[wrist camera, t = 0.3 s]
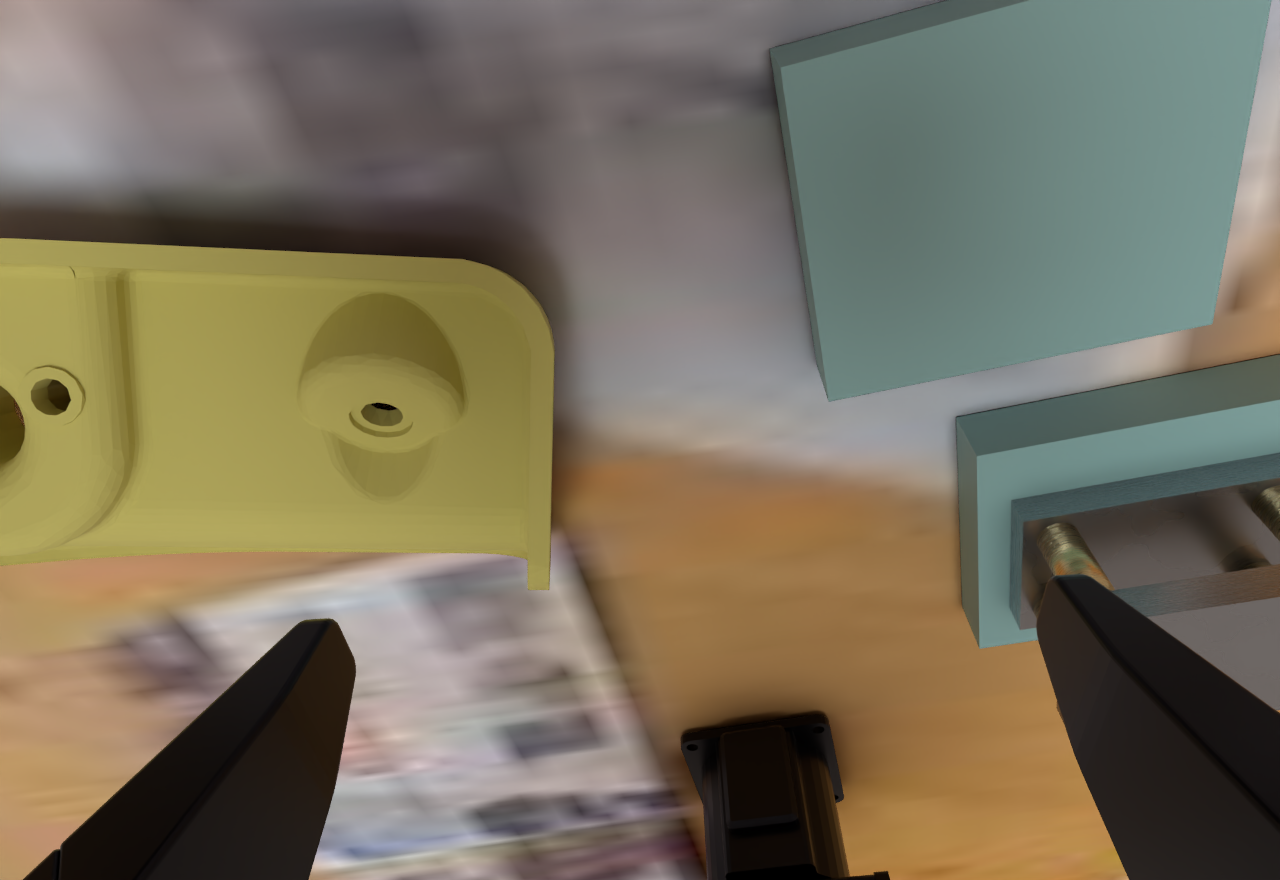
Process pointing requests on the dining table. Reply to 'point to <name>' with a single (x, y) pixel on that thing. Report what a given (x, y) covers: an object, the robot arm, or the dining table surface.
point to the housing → (1169, 558)
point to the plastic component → (269, 404)
